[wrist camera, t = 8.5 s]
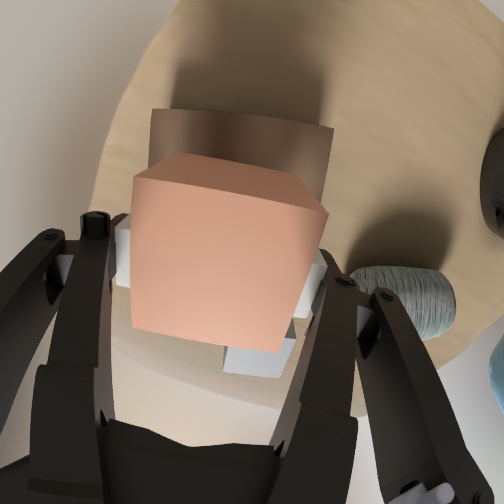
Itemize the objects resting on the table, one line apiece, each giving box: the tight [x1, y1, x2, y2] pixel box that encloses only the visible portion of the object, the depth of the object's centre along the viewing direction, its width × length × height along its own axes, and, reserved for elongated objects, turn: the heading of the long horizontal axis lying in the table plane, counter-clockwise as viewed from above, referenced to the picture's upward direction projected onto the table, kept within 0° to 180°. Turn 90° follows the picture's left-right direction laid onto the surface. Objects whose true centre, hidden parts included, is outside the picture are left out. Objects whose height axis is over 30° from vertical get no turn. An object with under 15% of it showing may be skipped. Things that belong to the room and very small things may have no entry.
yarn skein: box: [349, 266, 456, 341], centre depth 26 cm, size 14×10×10 cm
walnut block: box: [148, 109, 334, 202], centre depth 23 cm, size 13×13×5 cm
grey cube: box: [222, 318, 296, 378], centre depth 29 cm, size 6×6×6 cm
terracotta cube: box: [130, 152, 329, 353], centre depth 14 cm, size 7×7×7 cm
